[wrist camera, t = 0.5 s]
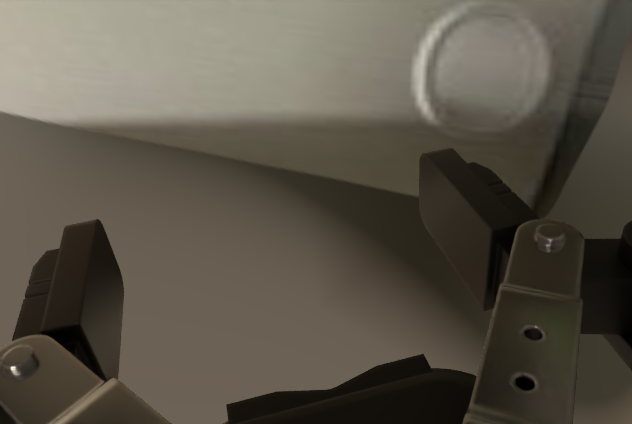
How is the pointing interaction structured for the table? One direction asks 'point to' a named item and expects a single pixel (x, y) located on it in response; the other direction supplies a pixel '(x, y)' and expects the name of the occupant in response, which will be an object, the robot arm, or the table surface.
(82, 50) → the table surface
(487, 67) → the table surface
